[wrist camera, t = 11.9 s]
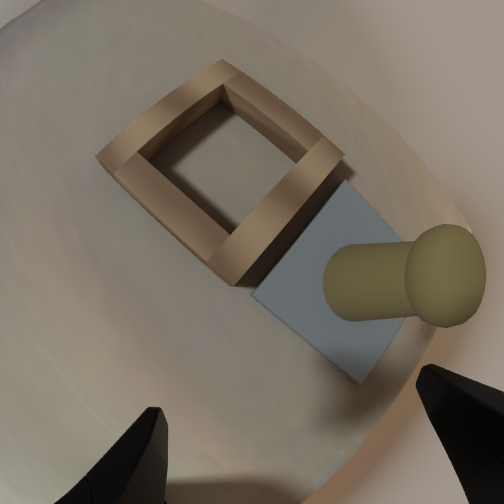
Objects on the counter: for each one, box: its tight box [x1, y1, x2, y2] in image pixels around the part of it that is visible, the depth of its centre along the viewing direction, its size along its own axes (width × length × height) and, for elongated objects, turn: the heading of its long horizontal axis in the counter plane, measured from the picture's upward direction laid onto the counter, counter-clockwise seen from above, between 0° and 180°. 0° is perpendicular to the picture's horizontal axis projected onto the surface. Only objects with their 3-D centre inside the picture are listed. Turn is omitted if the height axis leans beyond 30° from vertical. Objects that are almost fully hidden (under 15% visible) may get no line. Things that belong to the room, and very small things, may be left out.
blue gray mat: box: [250, 179, 405, 385], centre depth 21 cm, size 12×12×1 cm
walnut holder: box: [95, 59, 345, 286], centre depth 19 cm, size 13×13×2 cm
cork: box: [323, 224, 486, 328], centre depth 15 cm, size 6×6×11 cm
